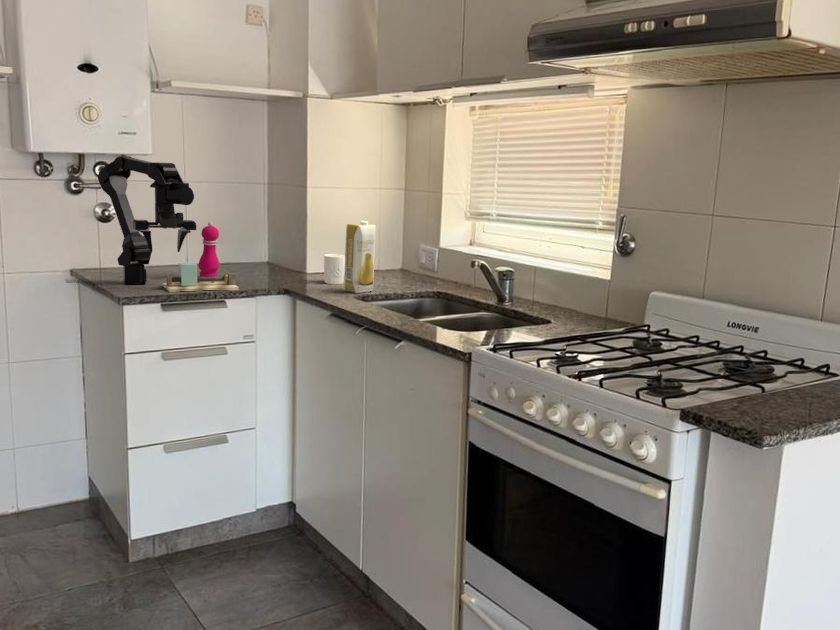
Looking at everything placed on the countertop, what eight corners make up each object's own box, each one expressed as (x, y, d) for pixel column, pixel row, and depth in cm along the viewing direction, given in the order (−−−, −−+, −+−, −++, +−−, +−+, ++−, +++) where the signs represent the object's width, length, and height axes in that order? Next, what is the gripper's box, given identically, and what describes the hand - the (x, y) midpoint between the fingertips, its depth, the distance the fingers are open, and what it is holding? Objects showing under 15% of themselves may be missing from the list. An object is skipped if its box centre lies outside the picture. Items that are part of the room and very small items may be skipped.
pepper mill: (206, 280, 276) (208, 224, 271) (193, 276, 280) (195, 220, 275) (223, 278, 282) (225, 223, 277) (210, 274, 286) (212, 219, 281)
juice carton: (356, 294, 264) (359, 222, 260) (340, 290, 270) (343, 219, 265) (376, 291, 271) (379, 221, 267) (360, 288, 276) (363, 219, 272)
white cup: (318, 283, 283) (319, 255, 281) (330, 280, 290) (331, 253, 288) (337, 285, 280) (338, 257, 278) (349, 282, 287) (350, 255, 285)
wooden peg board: (169, 292, 250) (169, 277, 249) (162, 286, 261) (162, 272, 260) (238, 290, 260) (238, 276, 260) (229, 284, 271) (229, 270, 270)
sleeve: (181, 285, 256) (181, 264, 254) (179, 283, 259) (179, 263, 258) (197, 285, 258) (197, 264, 257) (194, 283, 261) (194, 262, 260)
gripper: (137, 204, 239) (138, 255, 242) (200, 205, 248) (200, 255, 251) (131, 201, 248) (132, 251, 251) (192, 202, 257) (192, 250, 260)
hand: (165, 252), depth 253 cm, fingers open, 8 cm apart
